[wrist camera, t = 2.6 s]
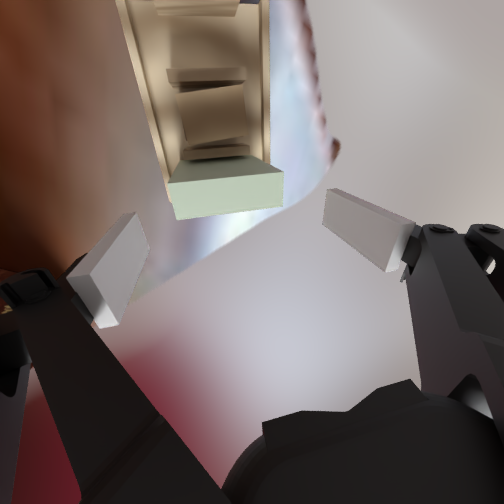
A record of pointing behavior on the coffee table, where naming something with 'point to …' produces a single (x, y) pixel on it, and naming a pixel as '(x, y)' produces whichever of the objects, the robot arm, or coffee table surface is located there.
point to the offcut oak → (213, 114)
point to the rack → (199, 69)
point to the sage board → (224, 186)
